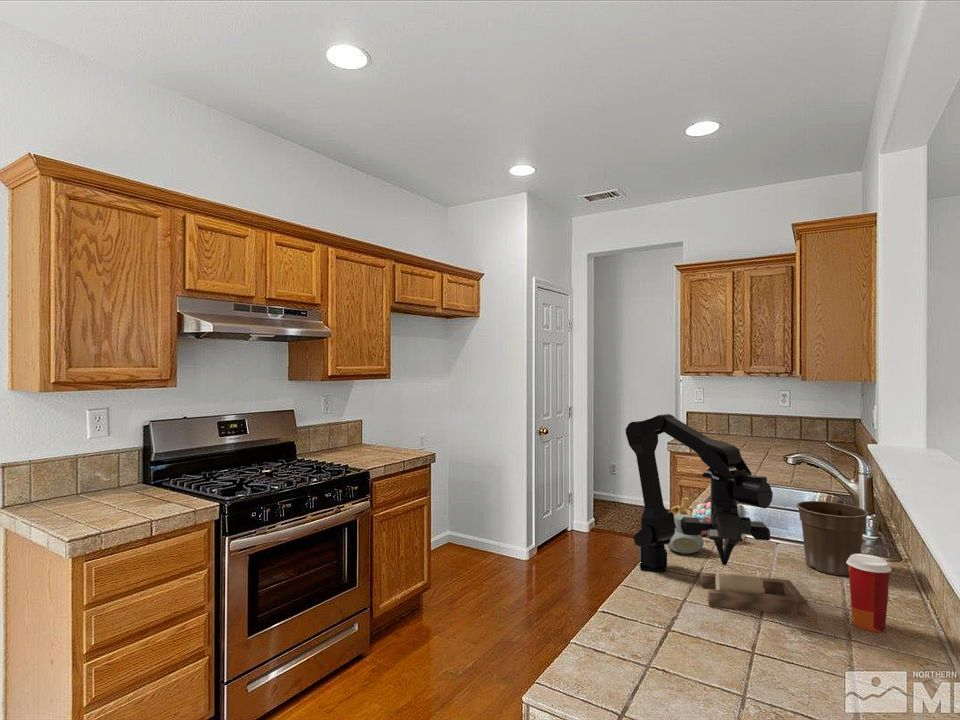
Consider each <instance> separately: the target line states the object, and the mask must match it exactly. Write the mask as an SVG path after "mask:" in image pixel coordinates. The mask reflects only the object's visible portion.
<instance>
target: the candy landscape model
mask: <svg viewBox="0 0 960 720" xmlns="http://www.w3.org/2000/svg"><path fill="white" fill-rule="evenodd" d="M690 503H691V498H689V497H686V496H684V497H682V498H681V504H676V505H673V507H671V509H670V512H673V514H674V515H676V514H686V515H690V516H692V517H693V518H698V519H699V521H700V522H703V523H711V501H708V502H704V503H703V502H701V503H697V505H696V508H694V509H693V507H692V508H689V507H690V505H691V504H690ZM700 535H701V537H702V538H703V541H704V543H711V544H715V543H714V540H710V539H709V538H708V536H707V534H706V531H701V533H700ZM745 535H746V536H747V534H742V536H741V538H742V539H743V538H745V539H746V536H745ZM744 536H745V537H744ZM743 540H744V539H743ZM723 545H724V539H723Z"/></svg>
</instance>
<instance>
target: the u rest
mask: <svg viewBox="0 0 960 720" xmlns="http://www.w3.org/2000/svg"><path fill="white" fill-rule="evenodd" d="M757 577H758V576H757ZM758 578H759V579H760V580H761V581H763V588H764V589H765V594H757V593H746V592H735V591H724V590H716V582H715V579H716V573H711V572H700V586H701V587H702V589H707V603H708V606H709V607H716V608H719V607H720V608H728V609H729V608H730V609H740V610H746V611H747V610H748V611H758V612H771V613H780V614H788V615H789V614H790V615H800V616H808V600H807V599H806V598H804V596H803V595H802V593H801V592H800V591H799V590H798V588H796V586H795V585H794V584H793V583H792V581H791V579H783V578H780V579H778V578H769V577H758Z"/></svg>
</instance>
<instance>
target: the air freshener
mask: <svg viewBox="0 0 960 720" xmlns="http://www.w3.org/2000/svg"><path fill="white" fill-rule="evenodd" d="M683 517H692V516H690V515H686V514H676V515H674V522H675V525H676V528H675V534H674V535H673V537H672V538H671V540H670V543H669V544H665V545H666V546H667V547H668V548H669V549H670V550H672V551H673V552H676V553H679V554H682V555H690V554H693V553H694V554H695V553H697V552H699V551H701V550H702V549H703V547H704V545H705V544H704V543H705V542H704V541H703V538H702V537H701V535H700V534H699V535H698V536H696V535H685V534H683V531H682V529H681V519H682V518H683ZM692 518H693V517H692Z"/></svg>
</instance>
